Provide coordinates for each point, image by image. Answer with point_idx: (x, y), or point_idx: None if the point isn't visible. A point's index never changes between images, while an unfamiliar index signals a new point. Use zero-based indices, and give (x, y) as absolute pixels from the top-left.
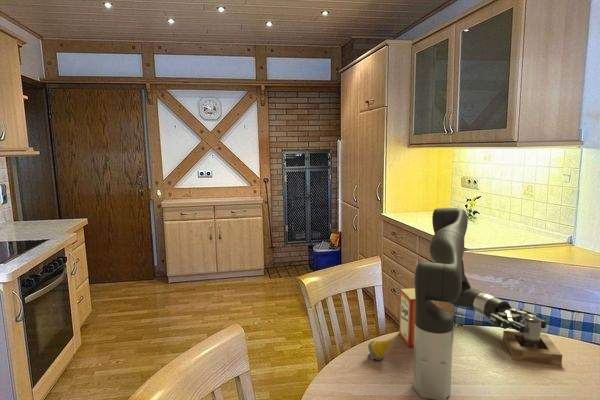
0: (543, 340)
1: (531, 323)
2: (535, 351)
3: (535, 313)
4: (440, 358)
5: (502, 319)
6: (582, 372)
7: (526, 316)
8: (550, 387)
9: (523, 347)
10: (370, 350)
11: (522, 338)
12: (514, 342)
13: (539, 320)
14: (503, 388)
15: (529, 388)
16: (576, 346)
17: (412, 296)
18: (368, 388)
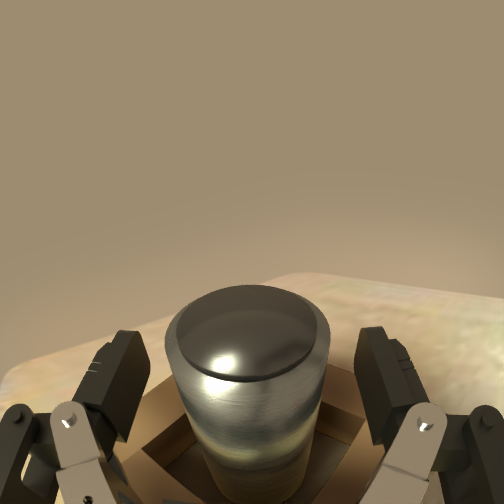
0: (163, 425)
1: (308, 303)
2: (326, 368)
3: (18, 417)
4: None
5: (498, 446)
6: None
7: (237, 374)
8: (384, 299)
9: (356, 409)
10: None
11: (309, 450)
12: (367, 462)
13: (213, 292)
14: (499, 311)
15: (441, 304)
16: (39, 394)
17: None
18: None
